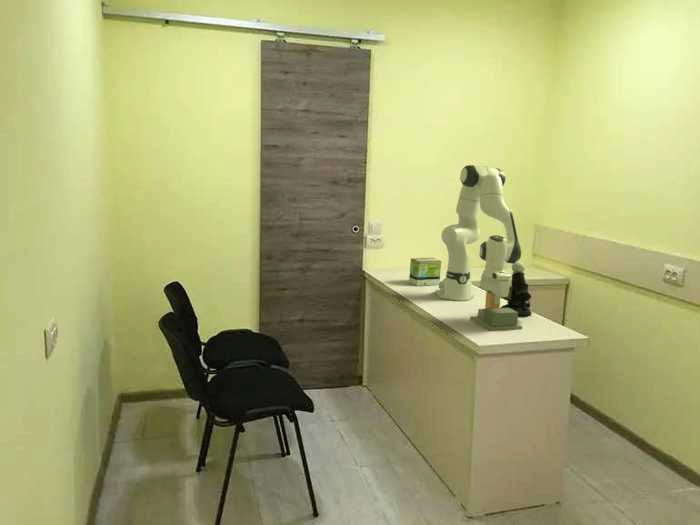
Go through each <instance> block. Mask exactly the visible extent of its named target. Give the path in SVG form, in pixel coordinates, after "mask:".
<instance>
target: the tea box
mask: <svg viewBox="0 0 700 525" xmlns="http://www.w3.org/2000/svg"><path fill="white" fill-rule="evenodd" d="M441 268H442V260H441V259H437V258H435V257H412V258H410V266H409V278H408V283H409V284H412V285H414V286H416V287H422V286H439V284H440V283H441V281H440V280H441Z"/></svg>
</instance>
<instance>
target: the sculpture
mask: <svg viewBox="0 0 700 525" xmlns="http://www.w3.org/2000/svg"><path fill="white" fill-rule="evenodd" d="M511 270H512V274H511V275H510V276H511V278H510V280H511V283H510V284H511V291H510V292H511V294H510V299H509V300H508V301H506V303H507V304H504V305H502V306H501V307H500V308H510V309H512V310H514V311H516V312H518V318H528V316H529V317H530V316H532V311H531V309H530V307H531V303H529V302H527V301H529V300H530V299H531V298H532V295H531V294H530V292H529V284H528V283H526V279H525V275H526V274H525V272H524V271H525V270H526V265H525V264H524V262H522V261H517V262H516V263H514V264H512V265H511Z"/></svg>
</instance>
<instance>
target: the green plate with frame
mask: <svg viewBox="0 0 700 525" xmlns="http://www.w3.org/2000/svg"><path fill="white" fill-rule="evenodd" d="M469 319H470V320H471V321H473V322H474V323H476V324H478V325H480V326H481V327H483V328H484V329H485V330H487V331H503V330H505V331H508V330H507V329H509V330H522V329H523V325H521V324H520V323H518V319H519V317H518V312H516V311H514V310H512V309H510V308H501V307H500V308H485V307H484V308H478V310H477V315H471V316H469Z"/></svg>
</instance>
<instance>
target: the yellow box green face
mask: <svg viewBox="0 0 700 525" xmlns="http://www.w3.org/2000/svg"><path fill="white" fill-rule="evenodd" d="M494 299H495V294H493V293H492V292H491V291H489V290H488V292H487V291H486V293H485V305H484V309H485V308H501V307H500V306H501V298H500V299H499V300H498V304H494V303H493V300H494Z"/></svg>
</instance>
